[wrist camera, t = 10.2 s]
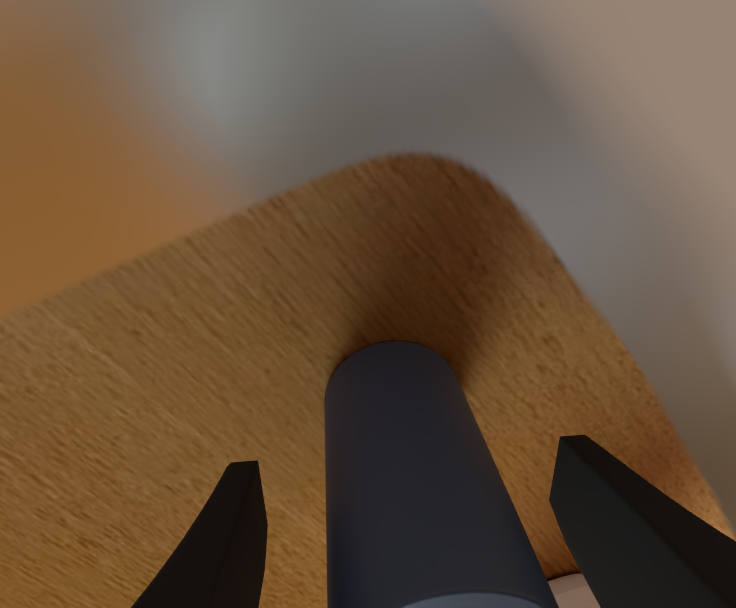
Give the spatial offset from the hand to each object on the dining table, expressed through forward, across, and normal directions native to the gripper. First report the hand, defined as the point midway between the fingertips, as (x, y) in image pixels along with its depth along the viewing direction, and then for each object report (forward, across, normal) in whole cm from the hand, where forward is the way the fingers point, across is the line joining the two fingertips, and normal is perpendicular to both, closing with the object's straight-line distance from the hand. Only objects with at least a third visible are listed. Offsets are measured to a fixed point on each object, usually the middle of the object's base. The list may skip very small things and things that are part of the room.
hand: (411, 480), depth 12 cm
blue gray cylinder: (+3, 0, 0) cm, 3 cm away
